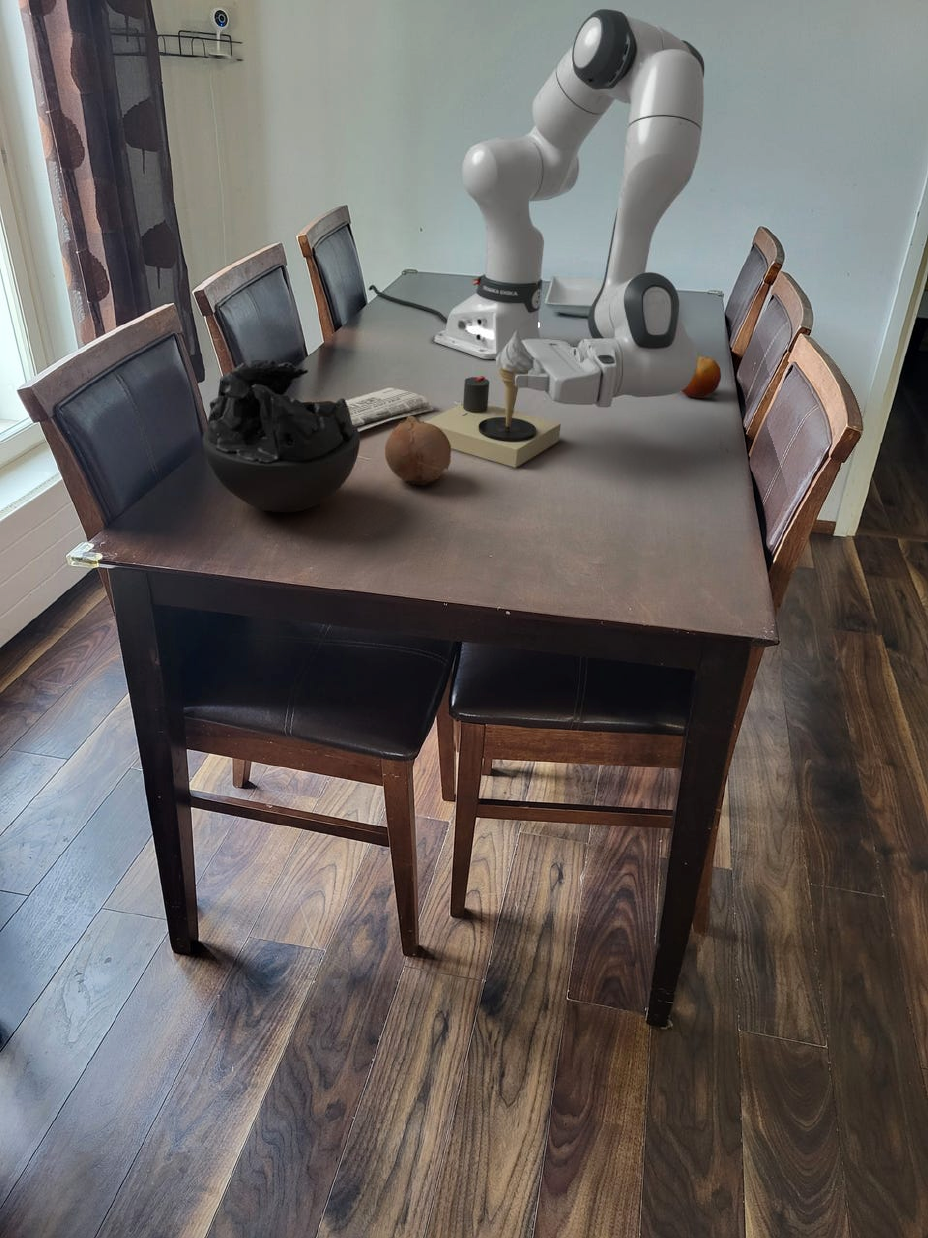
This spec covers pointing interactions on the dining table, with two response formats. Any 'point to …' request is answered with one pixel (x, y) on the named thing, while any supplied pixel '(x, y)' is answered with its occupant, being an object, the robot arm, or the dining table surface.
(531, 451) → the hob
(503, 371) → the ice cream cone
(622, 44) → the robot arm
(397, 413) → the newspaper
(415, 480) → the onion
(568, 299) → the square plate
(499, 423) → the burner
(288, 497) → the coal bowl
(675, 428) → the dining table surface
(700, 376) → the fruit
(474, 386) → the hob knob
